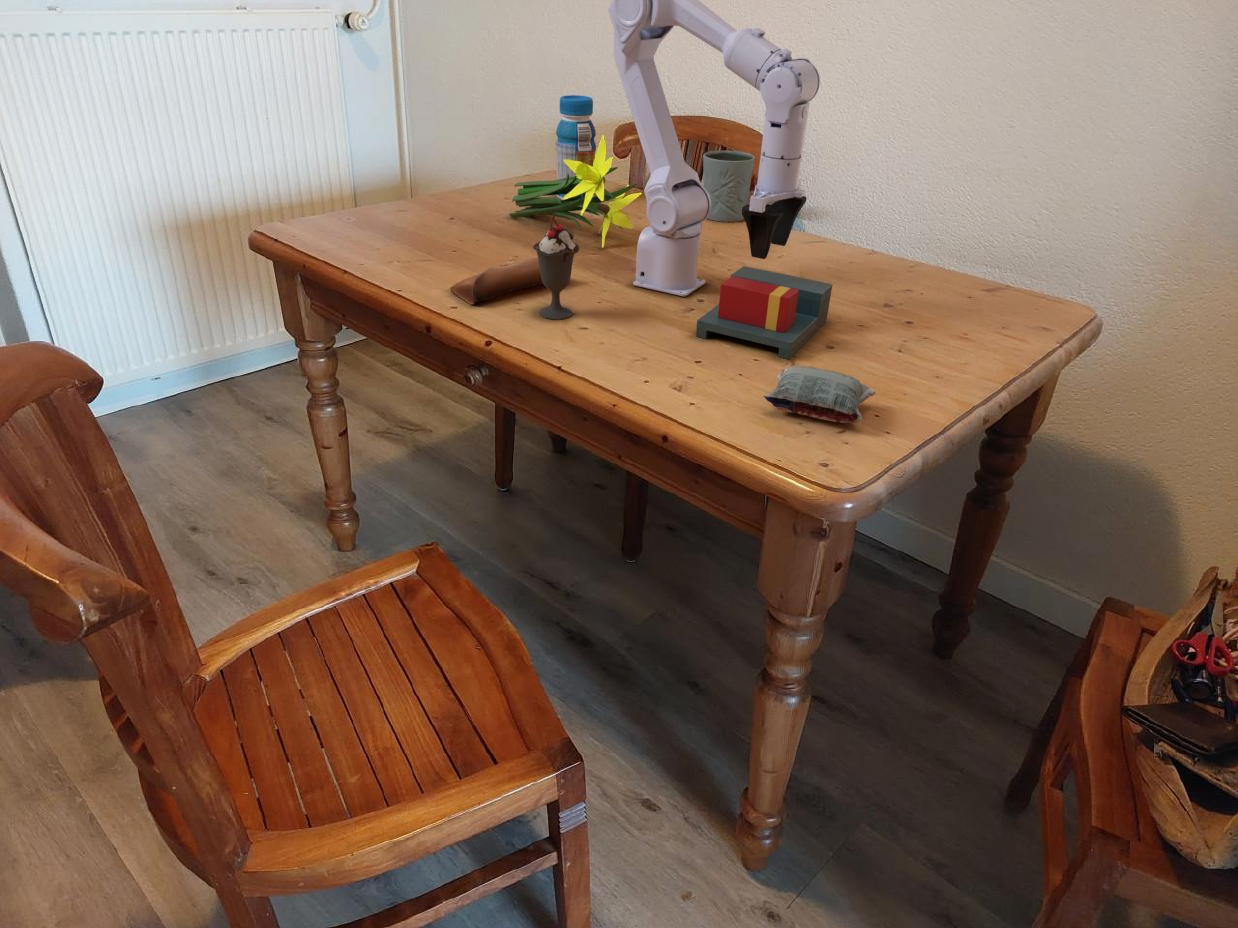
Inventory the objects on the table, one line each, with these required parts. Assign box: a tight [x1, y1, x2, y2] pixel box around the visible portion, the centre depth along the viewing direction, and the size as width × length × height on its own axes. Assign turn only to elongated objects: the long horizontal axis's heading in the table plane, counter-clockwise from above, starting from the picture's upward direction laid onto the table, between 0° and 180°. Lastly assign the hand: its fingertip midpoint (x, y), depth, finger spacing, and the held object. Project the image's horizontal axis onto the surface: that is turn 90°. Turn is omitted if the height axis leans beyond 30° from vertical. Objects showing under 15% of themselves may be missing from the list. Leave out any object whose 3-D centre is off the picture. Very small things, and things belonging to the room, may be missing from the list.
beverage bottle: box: [554, 94, 597, 200], centre depth 181 cm, size 8×8×20 cm
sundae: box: [531, 216, 580, 321], centre depth 125 cm, size 7×7×15 cm
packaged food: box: [763, 365, 877, 424], centre depth 104 cm, size 9×12×5 cm
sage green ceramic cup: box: [702, 150, 756, 223], centre depth 175 cm, size 10×10×12 cm
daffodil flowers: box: [508, 134, 643, 249], centre depth 160 cm, size 17×15×35 cm
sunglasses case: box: [450, 257, 544, 306], centre depth 137 cm, size 18×7×7 cm, turn 132°
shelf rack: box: [695, 265, 833, 360], centre depth 125 cm, size 14×16×6 cm
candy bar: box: [718, 276, 799, 333], centre depth 122 cm, size 10×4×5 cm, turn 60°
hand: (768, 250), depth 128 cm, fingers open, 7 cm apart
